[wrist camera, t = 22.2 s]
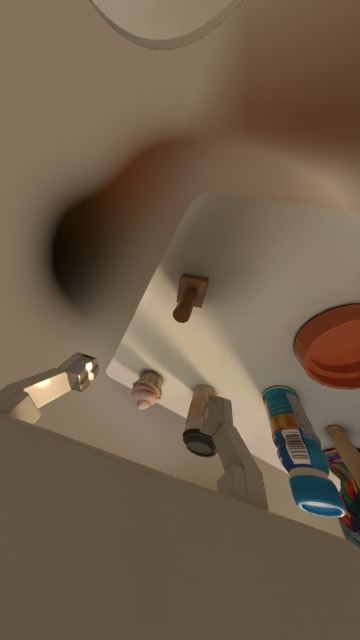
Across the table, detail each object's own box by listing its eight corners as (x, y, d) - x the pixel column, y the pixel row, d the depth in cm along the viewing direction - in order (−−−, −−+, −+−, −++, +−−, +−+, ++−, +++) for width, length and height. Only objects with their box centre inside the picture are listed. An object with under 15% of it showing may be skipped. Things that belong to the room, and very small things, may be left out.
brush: (183, 273, 31) (165, 294, 20) (208, 278, 30) (203, 303, 20) (180, 296, 33) (162, 326, 23) (202, 301, 33) (195, 334, 22)
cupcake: (144, 362, 46) (127, 392, 38) (171, 377, 47) (161, 409, 38) (135, 378, 51) (118, 408, 43) (159, 391, 52) (148, 423, 43)
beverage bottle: (304, 390, 39) (371, 514, 22) (287, 408, 43) (333, 523, 26) (268, 381, 40) (306, 493, 23) (256, 400, 44) (280, 506, 27)
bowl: (325, 292, 27) (345, 304, 23) (426, 316, 26) (467, 333, 22) (278, 357, 36) (286, 374, 31) (352, 378, 34) (371, 399, 30)
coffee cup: (201, 404, 50) (195, 462, 38) (184, 386, 48) (172, 443, 35) (226, 398, 46) (229, 461, 34) (210, 379, 44) (206, 439, 31)
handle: (344, 420, 41) (401, 506, 28) (344, 434, 43) (397, 519, 30) (321, 421, 43) (366, 501, 30) (323, 434, 45) (365, 514, 32)
